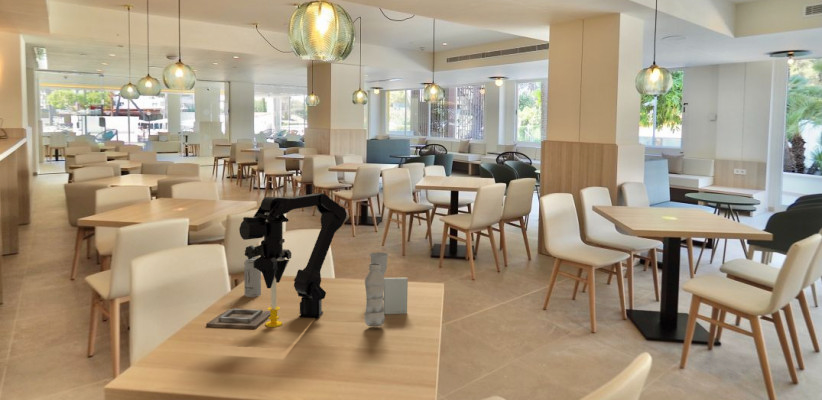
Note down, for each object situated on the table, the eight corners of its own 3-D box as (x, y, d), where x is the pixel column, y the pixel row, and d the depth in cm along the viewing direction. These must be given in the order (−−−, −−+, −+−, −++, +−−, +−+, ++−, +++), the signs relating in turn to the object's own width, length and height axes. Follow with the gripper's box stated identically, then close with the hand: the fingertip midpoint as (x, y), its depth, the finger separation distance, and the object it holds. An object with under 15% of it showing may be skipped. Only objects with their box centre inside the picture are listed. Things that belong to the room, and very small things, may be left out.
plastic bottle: (388, 324, 176) (388, 263, 174) (378, 330, 169) (378, 267, 168) (370, 321, 178) (371, 261, 177) (360, 327, 172) (360, 265, 171)
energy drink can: (241, 297, 205) (240, 258, 204) (254, 294, 210) (253, 256, 209) (251, 300, 202) (251, 260, 201) (264, 297, 207) (264, 258, 205)
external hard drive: (407, 313, 188) (407, 278, 187) (383, 314, 187) (384, 278, 186) (406, 312, 189) (407, 277, 188) (383, 313, 188) (383, 277, 187)
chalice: (391, 301, 204) (392, 253, 202) (381, 305, 198) (381, 256, 196) (375, 298, 207) (376, 251, 206) (365, 302, 202) (365, 254, 200)
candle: (281, 326, 171) (281, 278, 170) (264, 327, 170) (264, 278, 169) (282, 321, 176) (282, 274, 175) (266, 322, 176) (266, 275, 174)
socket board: (273, 314, 185) (273, 307, 185) (255, 328, 169) (255, 322, 169) (227, 312, 186) (227, 306, 186) (206, 326, 170) (206, 319, 170)
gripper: (259, 231, 181) (259, 278, 182) (236, 240, 163) (236, 291, 164) (291, 232, 180) (291, 279, 181) (272, 241, 162) (272, 292, 163)
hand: (273, 285), depth 172 cm, fingers open, 8 cm apart
